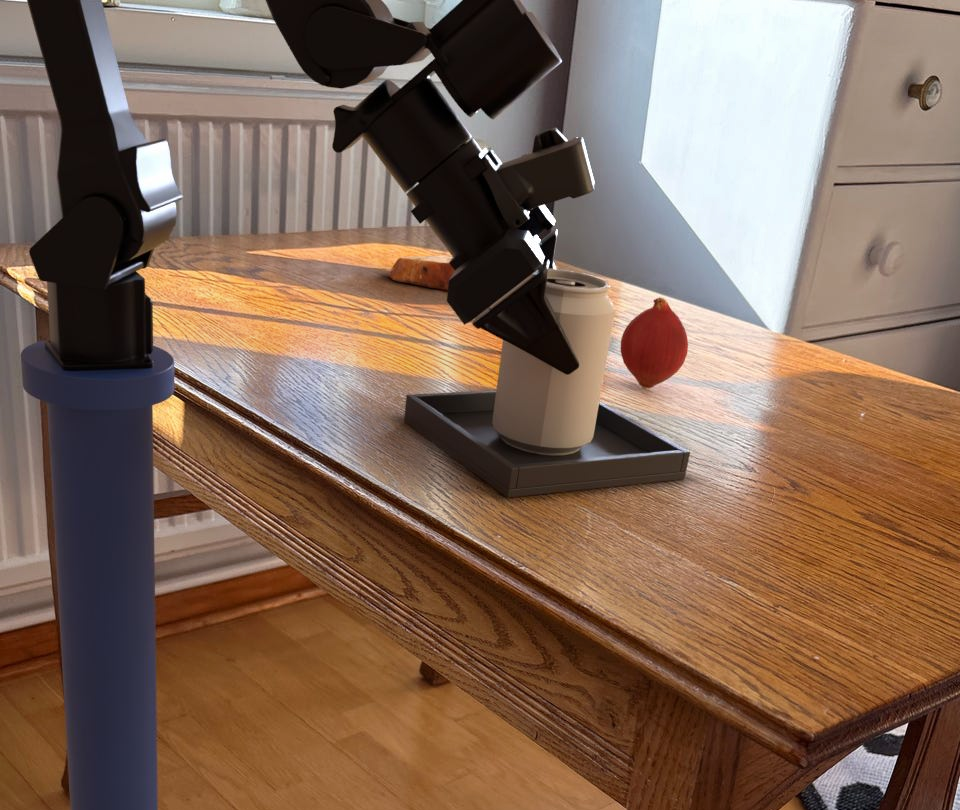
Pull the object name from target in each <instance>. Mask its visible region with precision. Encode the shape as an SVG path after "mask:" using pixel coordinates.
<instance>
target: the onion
mask: <svg viewBox="0 0 960 810" xmlns="http://www.w3.org/2000/svg"><path fill="white" fill-rule="evenodd" d="M688 350H689V341H688V335H687V332H686V329H685V326H684V324H683V321H682V320H681V319H680V317H679V316H678V314H677V313H676V312H675V311H673V309H672V308H671V307H670V304H669V302H668V301H667V299H665V298H664V297H660V296H659V297H657V298H654V299H653V306H652V307H650V308H647V309H645V310H643V311H642V312H640V313H639V314H637V315H636V316H635V317H634V318H633V319H632V320H631V321H630V322H629V323H628V324H627V325H626V327H625V329H624V331H623V333H622V336H621V339H620V354H621V358H622V361H623V364H624V366H625V367H626V369H627V370H628V372H629V373H630V374H631V375H632V376H633V377H634V379H635V380H636V381H637V383H638V385H639V386H640V387H641V388H644V389H647V390H648V389H651V388H653V387H655V386H657V385H659V384H662V383H664V382H665V381H667V380H668V379H671V378H672V377H673V376H674V375H676V373H678V371H679V370H680V369H681V368H682V367H683V365H684V364H685V361H686V359H687V355H688Z"/></svg>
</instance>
